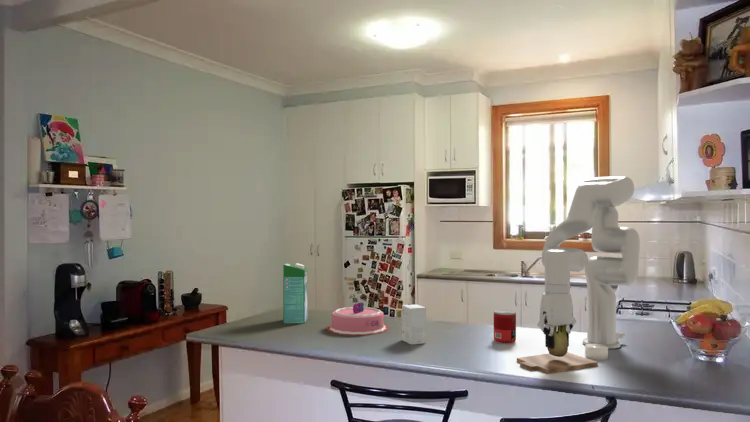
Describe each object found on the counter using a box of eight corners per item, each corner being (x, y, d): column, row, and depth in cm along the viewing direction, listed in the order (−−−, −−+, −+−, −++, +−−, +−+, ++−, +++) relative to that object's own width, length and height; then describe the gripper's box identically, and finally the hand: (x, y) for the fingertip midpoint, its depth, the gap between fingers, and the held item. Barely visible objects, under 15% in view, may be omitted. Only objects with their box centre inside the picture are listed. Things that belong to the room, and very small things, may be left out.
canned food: (516, 344, 198) (516, 313, 198) (493, 343, 200) (493, 312, 200) (515, 339, 206) (515, 309, 206) (493, 338, 207) (493, 309, 207)
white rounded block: (596, 353, 186) (596, 342, 186) (612, 358, 180) (613, 347, 180) (580, 355, 183) (580, 345, 183) (597, 361, 177) (597, 349, 177)
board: (564, 354, 184) (564, 351, 184) (597, 365, 171) (597, 362, 171) (510, 362, 174) (510, 358, 174) (541, 374, 161) (541, 370, 161)
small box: (426, 343, 199) (426, 307, 199) (410, 345, 197) (410, 308, 197) (417, 338, 207) (417, 303, 207) (401, 339, 204) (401, 304, 204)
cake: (368, 339, 207) (368, 310, 207) (314, 331, 219) (314, 304, 219) (399, 326, 228) (399, 301, 228) (348, 320, 241) (348, 296, 241)
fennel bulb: (545, 355, 173) (545, 317, 173) (552, 352, 177) (552, 315, 177) (563, 359, 169) (563, 320, 169) (569, 355, 173) (569, 317, 173)
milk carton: (304, 323, 233) (304, 264, 233) (283, 323, 233) (283, 264, 233) (307, 319, 242) (307, 262, 242) (286, 319, 242) (287, 262, 242)
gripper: (569, 285, 180) (569, 341, 180) (527, 289, 173) (527, 347, 173) (586, 289, 173) (586, 346, 173) (544, 292, 166) (544, 352, 166)
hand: (557, 346), depth 173 cm, fingers closed on fennel bulb, 5 cm apart
